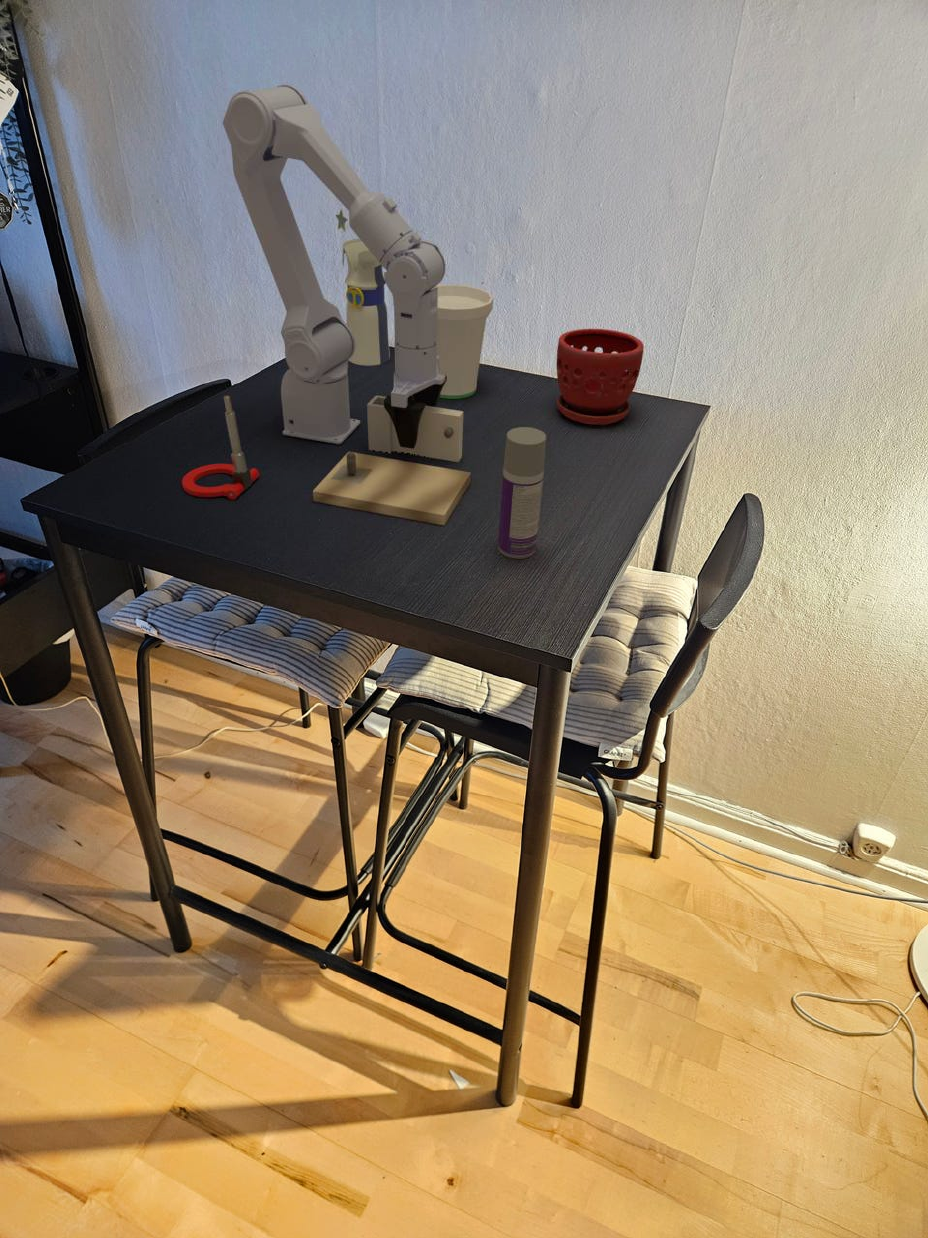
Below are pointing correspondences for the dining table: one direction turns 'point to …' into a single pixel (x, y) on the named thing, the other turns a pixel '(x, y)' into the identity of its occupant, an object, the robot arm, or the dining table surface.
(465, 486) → the base board
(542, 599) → the dining table surface
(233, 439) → the tow hook
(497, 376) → the dining table surface
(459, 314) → the cup
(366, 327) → the cream spray bottle
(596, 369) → the plant pot
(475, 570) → the dining table surface
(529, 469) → the container
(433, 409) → the door
